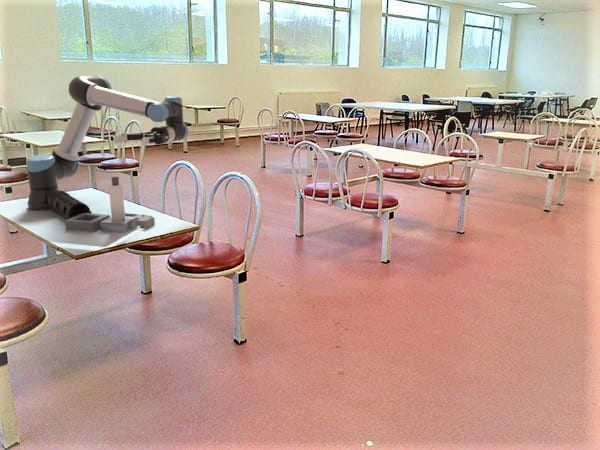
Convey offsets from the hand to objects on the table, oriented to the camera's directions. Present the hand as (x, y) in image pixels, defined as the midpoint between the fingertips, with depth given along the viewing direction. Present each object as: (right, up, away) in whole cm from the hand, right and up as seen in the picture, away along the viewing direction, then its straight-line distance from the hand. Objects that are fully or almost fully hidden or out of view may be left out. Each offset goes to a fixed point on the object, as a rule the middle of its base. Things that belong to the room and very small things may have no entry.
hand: (129, 140), depth 206 cm
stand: (-4, -36, +2) cm, 36 cm away
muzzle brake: (-29, -25, +23) cm, 45 cm away
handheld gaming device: (-1, -34, +11) cm, 36 cm away
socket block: (-17, -35, +3) cm, 39 cm away
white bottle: (-4, -31, 0) cm, 32 cm away
